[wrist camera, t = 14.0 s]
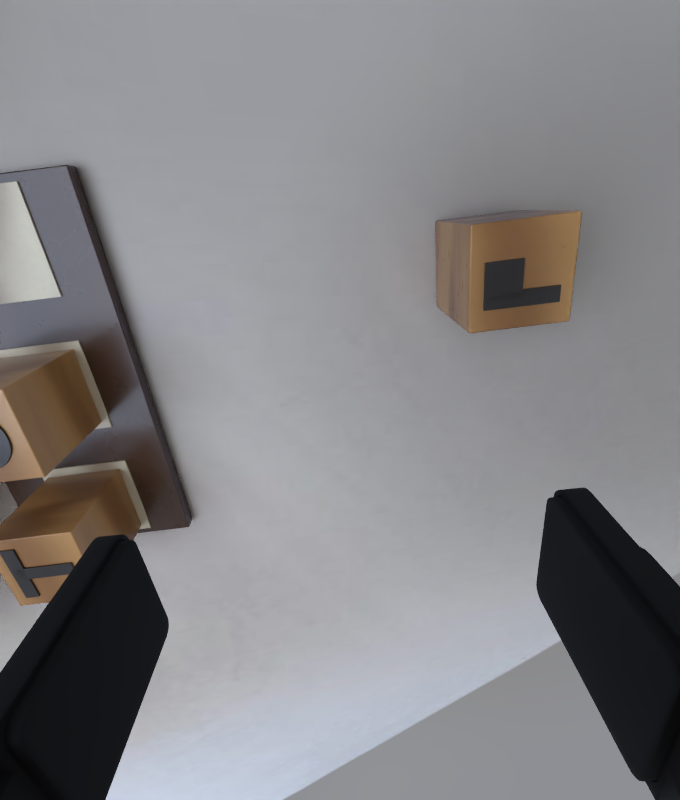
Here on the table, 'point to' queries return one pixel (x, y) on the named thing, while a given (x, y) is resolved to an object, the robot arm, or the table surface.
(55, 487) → the tile
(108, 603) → the robot arm
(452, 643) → the table surface
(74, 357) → the tile
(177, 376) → the table surface
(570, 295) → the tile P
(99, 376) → the word board
